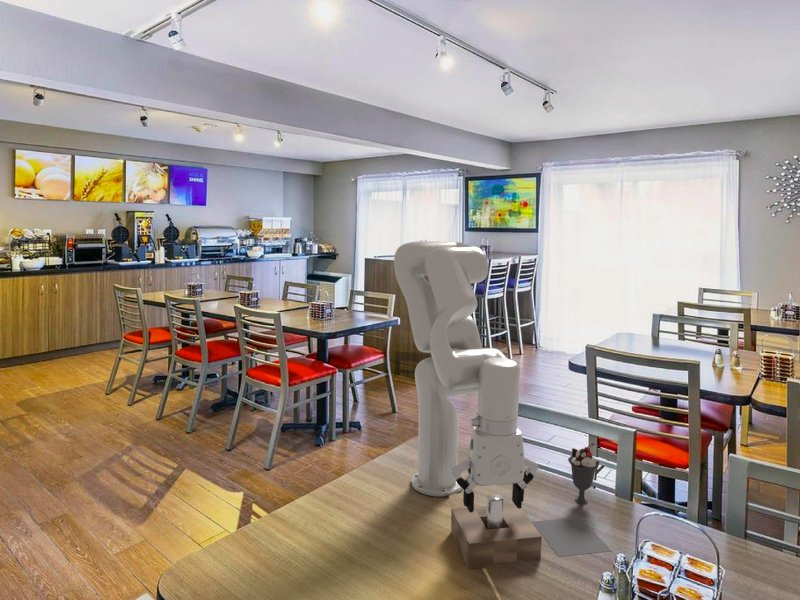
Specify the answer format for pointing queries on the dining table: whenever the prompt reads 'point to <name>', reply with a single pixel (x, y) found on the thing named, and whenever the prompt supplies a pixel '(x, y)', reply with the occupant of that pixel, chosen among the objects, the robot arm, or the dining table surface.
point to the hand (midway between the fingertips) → (493, 506)
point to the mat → (570, 536)
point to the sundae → (582, 471)
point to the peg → (494, 512)
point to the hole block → (494, 537)
